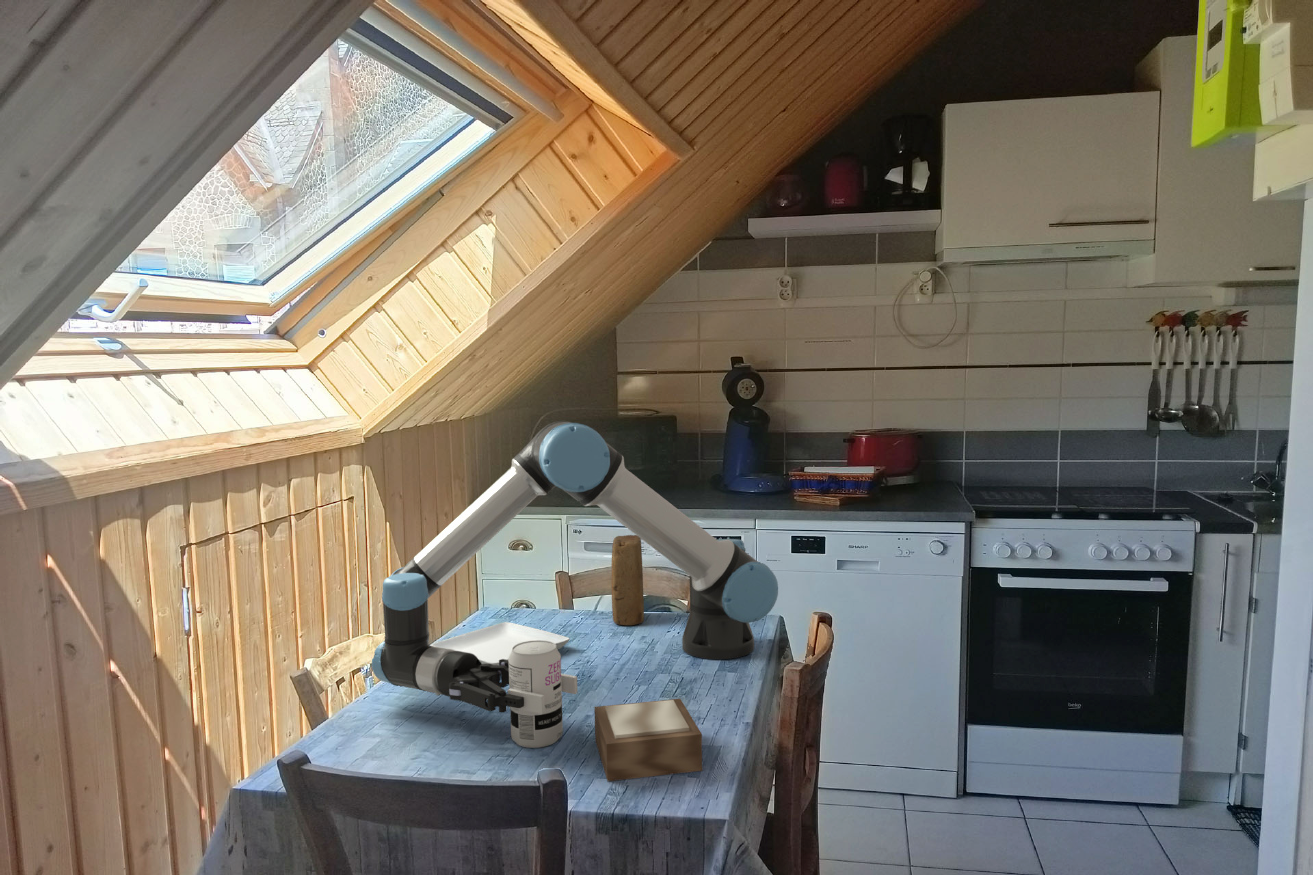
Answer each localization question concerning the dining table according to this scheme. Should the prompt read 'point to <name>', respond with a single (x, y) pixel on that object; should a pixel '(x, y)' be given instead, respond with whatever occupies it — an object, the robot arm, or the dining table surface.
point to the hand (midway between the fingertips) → (559, 694)
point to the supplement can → (540, 674)
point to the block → (627, 580)
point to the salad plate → (498, 641)
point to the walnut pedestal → (647, 739)
